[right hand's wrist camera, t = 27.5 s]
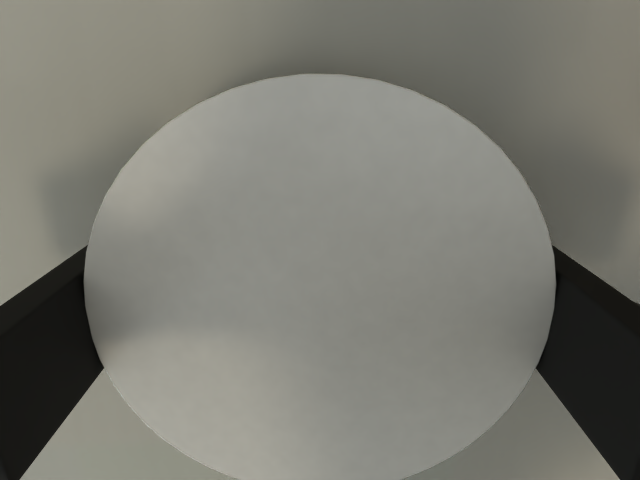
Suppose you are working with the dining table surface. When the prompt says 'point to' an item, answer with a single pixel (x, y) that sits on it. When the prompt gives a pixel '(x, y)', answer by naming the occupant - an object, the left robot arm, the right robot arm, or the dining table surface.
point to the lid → (319, 281)
